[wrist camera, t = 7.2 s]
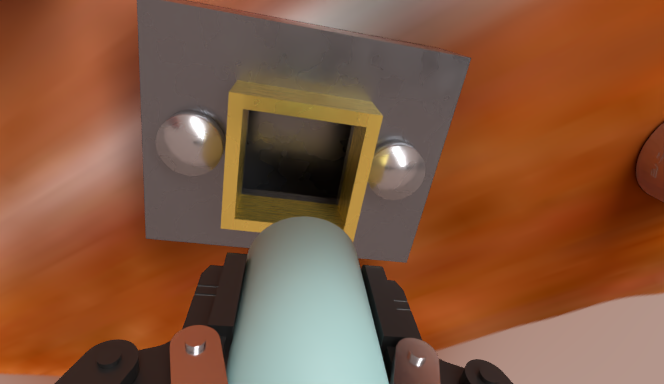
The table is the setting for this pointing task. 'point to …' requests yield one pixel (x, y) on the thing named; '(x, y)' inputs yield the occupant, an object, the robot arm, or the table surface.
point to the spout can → (304, 310)
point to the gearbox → (287, 126)
